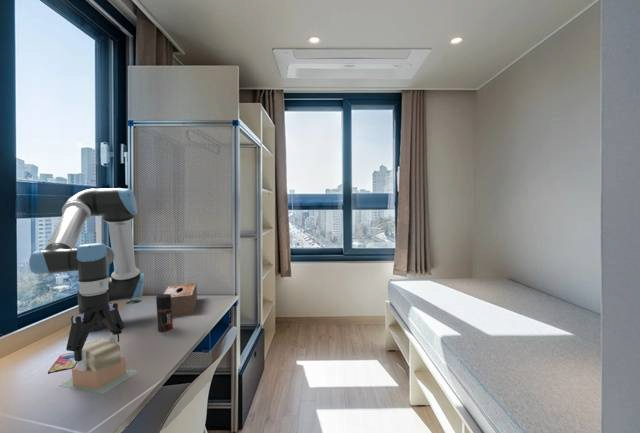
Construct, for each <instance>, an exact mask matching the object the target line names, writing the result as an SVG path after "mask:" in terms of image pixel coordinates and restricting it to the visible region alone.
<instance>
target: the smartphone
mask: <svg viewBox="0 0 640 433" xmlns="http://www.w3.org/2000/svg"><path fill="white" fill-rule="evenodd" d="M75 367H77V361H75V359H74V351H72V352H68V353H64V354H61V355H59V357H58V358H57V359H56V360H55V362H54V363H53V365H51V367H50V368H49V370H48V371H47V374H48V375H49V374H53V373H58V372H62V371H67V370H72V369H73V368H75Z"/></svg>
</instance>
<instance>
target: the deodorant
mask: <svg viewBox="0 0 640 433" xmlns="http://www.w3.org/2000/svg"><path fill="white" fill-rule="evenodd" d="M155 303H156V317H157V318H156V319H157V332H159V333H166V332H169V331H171V330H173V329H174V327H173V326H174V324H173V317H172V305H171V294H164V293H163V294H159V295H157V296H155Z"/></svg>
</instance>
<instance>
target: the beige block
mask: <svg viewBox="0 0 640 433" xmlns="http://www.w3.org/2000/svg"><path fill="white" fill-rule="evenodd" d="M83 349H85V351H86V366H87V368H88V369H90V370H92V371H94V372H96V373H97V372H100V371H102V370H104V369H107V368H109V367H111V366H114V365H116V364H118V363H121V357H122V356H121V345H119V344H118V345H117V344H114V343H112V342H110V340H107V339H103V338H98V339H95V340H93V341H92V340H91V341H89V342H85V344H84V346H83Z"/></svg>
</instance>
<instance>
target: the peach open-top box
mask: <svg viewBox="0 0 640 433" xmlns="http://www.w3.org/2000/svg"><path fill="white" fill-rule="evenodd" d="M120 357H121V363H118V364H116V365H114V366H111V367H109V368H107V369H104V370H102V371H100V372H97V373H96V372H94V371H92V370H90V369H88V368H87V370H86V371H79V370H78V367H77V366H75V367H74V368H72V369H71V379H73V385H77V386H82V387H88V388H94V389H99V388H100V387H102V386H104V385H105V384H107V383H109V382H110V381H112V380H114V379H115V378H117V377H119V376H120V375H122V374H124V373H125V372H126V369H127V367H126V364H127V363H126V357H125V356H120Z"/></svg>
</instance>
